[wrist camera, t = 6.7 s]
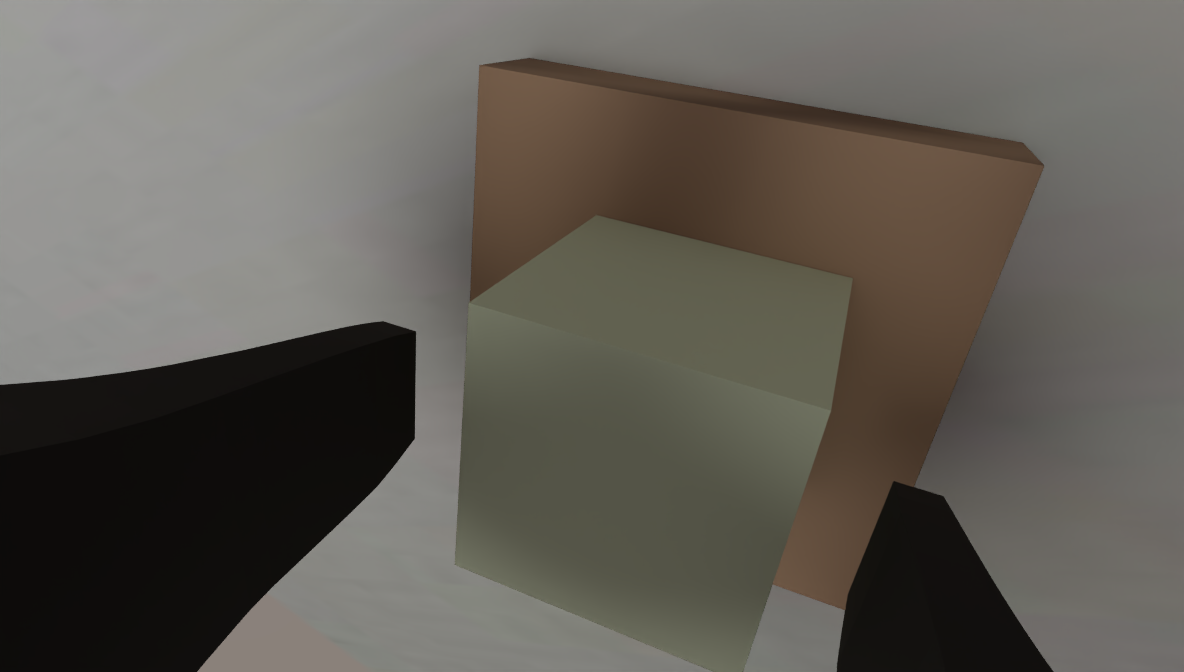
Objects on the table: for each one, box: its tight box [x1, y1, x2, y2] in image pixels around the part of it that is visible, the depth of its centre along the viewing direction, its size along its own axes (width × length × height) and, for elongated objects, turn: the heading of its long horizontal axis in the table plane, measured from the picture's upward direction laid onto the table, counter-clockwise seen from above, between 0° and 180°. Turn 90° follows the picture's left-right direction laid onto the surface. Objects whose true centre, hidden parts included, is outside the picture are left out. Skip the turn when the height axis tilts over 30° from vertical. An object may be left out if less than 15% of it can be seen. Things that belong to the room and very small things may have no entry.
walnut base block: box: [470, 58, 1044, 610], centre depth 14 cm, size 9×9×2 cm
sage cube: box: [455, 215, 853, 672], centre depth 11 cm, size 4×4×4 cm
